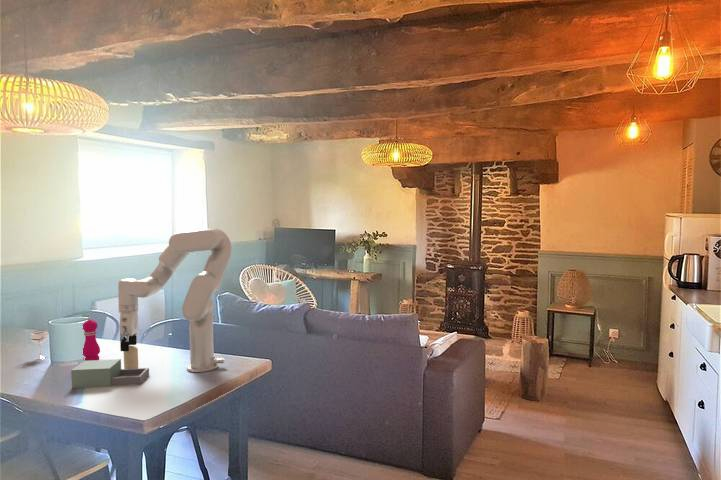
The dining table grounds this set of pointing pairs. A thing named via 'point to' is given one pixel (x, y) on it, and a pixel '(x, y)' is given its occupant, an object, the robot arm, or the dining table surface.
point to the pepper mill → (90, 340)
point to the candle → (131, 358)
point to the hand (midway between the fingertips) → (128, 347)
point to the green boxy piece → (106, 374)
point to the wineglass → (39, 340)
